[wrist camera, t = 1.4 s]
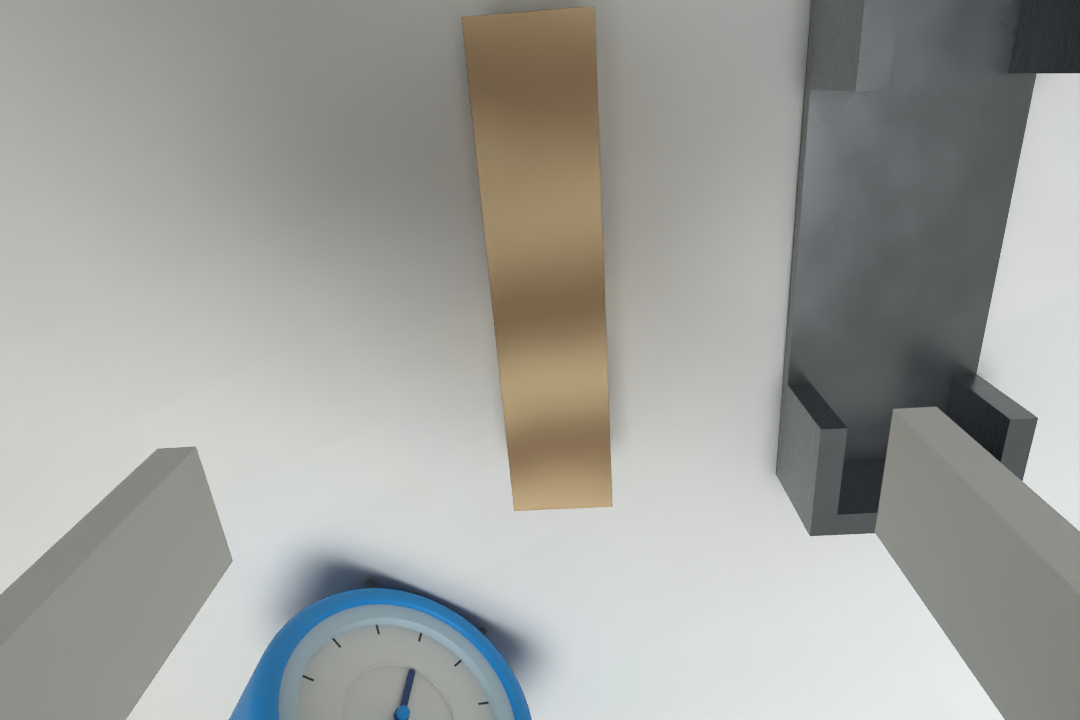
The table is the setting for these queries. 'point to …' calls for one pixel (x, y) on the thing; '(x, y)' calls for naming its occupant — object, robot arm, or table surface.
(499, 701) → the alarm clock
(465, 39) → the long wooden block
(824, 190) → the gray cradle tray
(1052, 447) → the table surface
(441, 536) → the table surface
